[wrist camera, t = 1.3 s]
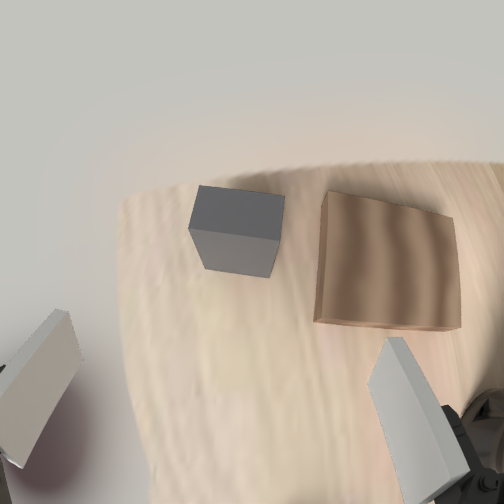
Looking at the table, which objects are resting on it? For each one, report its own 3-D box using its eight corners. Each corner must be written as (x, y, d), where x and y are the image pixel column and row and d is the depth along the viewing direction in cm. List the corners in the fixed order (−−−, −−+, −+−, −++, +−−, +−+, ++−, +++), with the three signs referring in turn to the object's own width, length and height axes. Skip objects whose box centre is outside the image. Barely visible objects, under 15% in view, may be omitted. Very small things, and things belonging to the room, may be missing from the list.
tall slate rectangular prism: (273, 242, 38) (285, 192, 27) (269, 278, 36) (280, 240, 25) (212, 233, 38) (200, 182, 27) (205, 268, 37) (188, 228, 25)
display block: (439, 229, 40) (452, 217, 36) (444, 331, 34) (461, 327, 30) (321, 205, 40) (328, 190, 36) (313, 322, 35) (321, 317, 31)
